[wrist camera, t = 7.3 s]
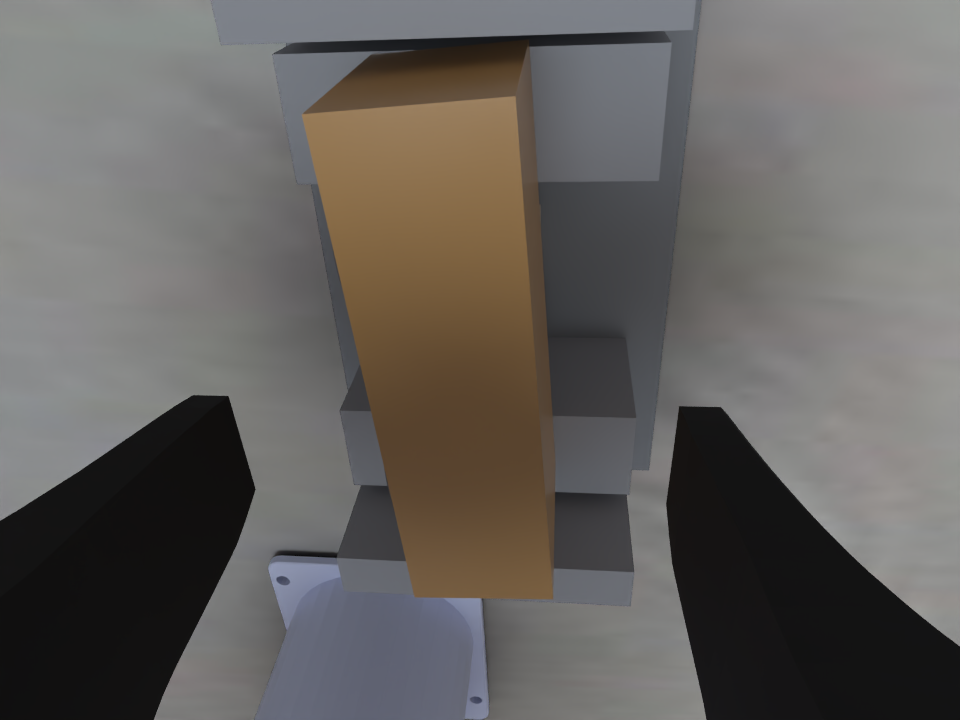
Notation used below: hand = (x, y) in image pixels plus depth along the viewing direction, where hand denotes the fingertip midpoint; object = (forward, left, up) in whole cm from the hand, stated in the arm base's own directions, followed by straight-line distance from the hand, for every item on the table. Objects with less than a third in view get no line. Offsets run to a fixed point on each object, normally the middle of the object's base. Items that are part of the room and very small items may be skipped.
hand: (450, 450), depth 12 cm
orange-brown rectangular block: (+1, 0, -5) cm, 5 cm away
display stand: (0, 0, -9) cm, 9 cm away
